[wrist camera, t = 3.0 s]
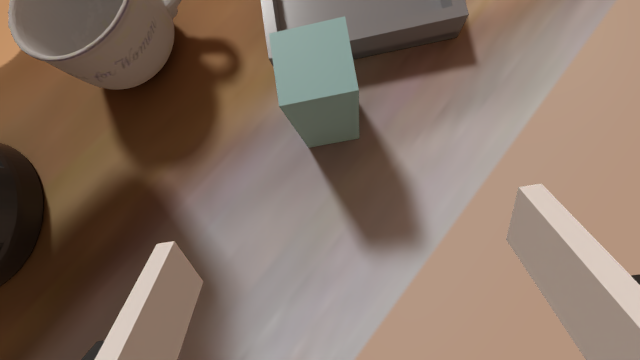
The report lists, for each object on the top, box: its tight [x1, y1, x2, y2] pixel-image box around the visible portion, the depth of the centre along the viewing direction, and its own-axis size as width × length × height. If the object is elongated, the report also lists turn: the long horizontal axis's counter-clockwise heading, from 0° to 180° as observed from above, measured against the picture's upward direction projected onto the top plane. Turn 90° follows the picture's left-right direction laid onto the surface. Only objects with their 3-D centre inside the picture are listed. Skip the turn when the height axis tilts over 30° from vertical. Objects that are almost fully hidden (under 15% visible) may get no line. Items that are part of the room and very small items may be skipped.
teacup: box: [8, 0, 181, 90], centre depth 27 cm, size 14×11×8 cm
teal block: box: [269, 16, 359, 148], centre depth 22 cm, size 4×4×10 cm
